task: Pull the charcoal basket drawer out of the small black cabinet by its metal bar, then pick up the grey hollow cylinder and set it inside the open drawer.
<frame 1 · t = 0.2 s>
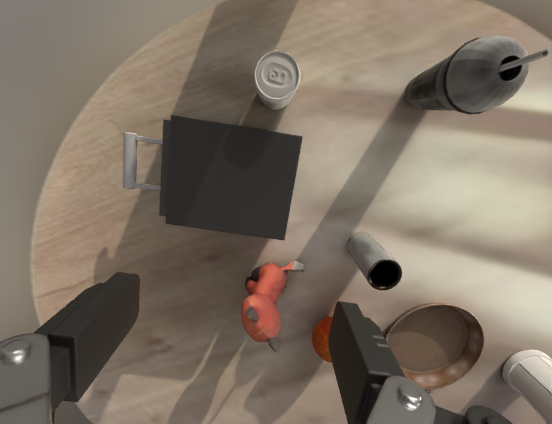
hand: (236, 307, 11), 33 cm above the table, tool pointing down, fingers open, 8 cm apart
beverage cup: (420, 92, 40), on the table
cabinet: (240, 170, 42), on the table
fruit: (328, 324, 50), on the table
drawer: (201, 170, 37), point 5 cm above the table, slide at 0.0 cm
stuffed fox: (275, 276, 48), on the table
beverage can: (275, 92, 40), on the table
grey hollow cylinder: (360, 244, 46), on the table
plant saucer: (424, 336, 51), on the table
cup: (525, 362, 53), on the table
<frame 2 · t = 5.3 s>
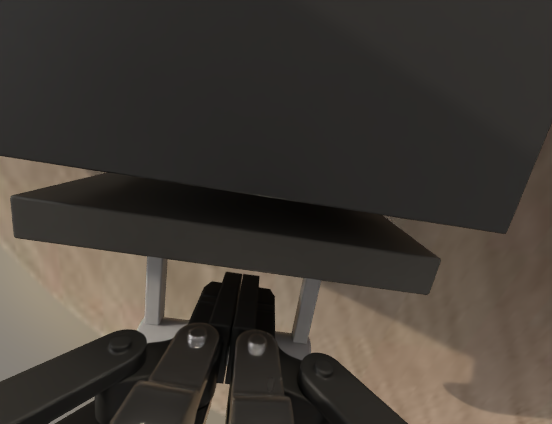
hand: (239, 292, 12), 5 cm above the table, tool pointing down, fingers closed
cabinet: (279, 5, 14), on the table
drawer: (257, 126, 10), point 5 cm above the table, slide at 1.2 cm
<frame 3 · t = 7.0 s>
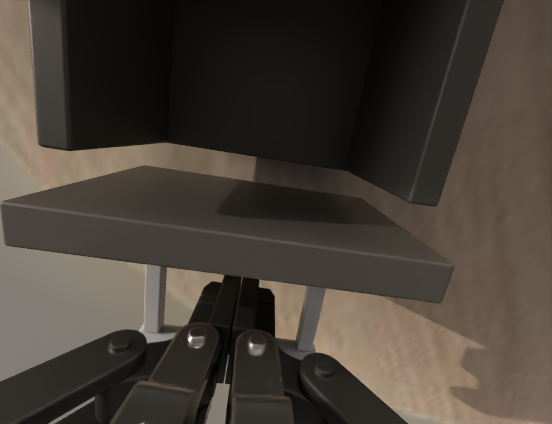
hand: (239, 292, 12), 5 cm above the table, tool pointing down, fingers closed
drawer: (259, 126, 10), point 5 cm above the table, slide at 8.4 cm, touching gripper
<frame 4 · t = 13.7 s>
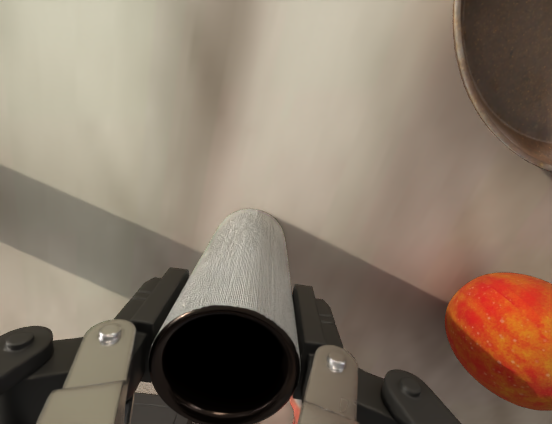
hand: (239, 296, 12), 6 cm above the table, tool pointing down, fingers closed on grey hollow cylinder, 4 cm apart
fruit: (471, 298, 20), on the table
grey hollow cylinder: (250, 240, 18), on the table, touching gripper
when the fingers open (8 cm above the table, at t = 21.6 s): grey hollow cylinder stays where it is, resting on drawer.
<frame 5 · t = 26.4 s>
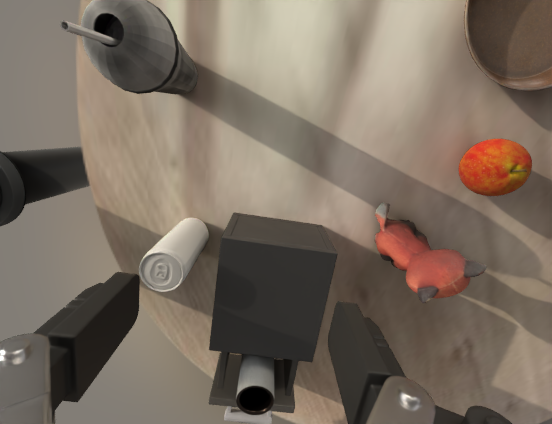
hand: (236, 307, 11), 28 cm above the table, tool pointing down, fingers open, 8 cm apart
beverage cup: (179, 75, 35), on the table
cabinet: (270, 265, 42), on the table
fruit: (472, 164, 38), on the table
drawer: (256, 362, 40), point 5 cm above the table, slide at 8.5 cm, touching grey hollow cylinder
stuffed fox: (394, 231, 41), on the table
beverage can: (193, 231, 40), on the table
grey hollow cylinder: (259, 338, 43), point 2 cm above the table, touching drawer
plant saucer: (523, 14, 33), on the table
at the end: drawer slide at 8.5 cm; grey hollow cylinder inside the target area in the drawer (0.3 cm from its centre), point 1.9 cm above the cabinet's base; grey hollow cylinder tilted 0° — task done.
